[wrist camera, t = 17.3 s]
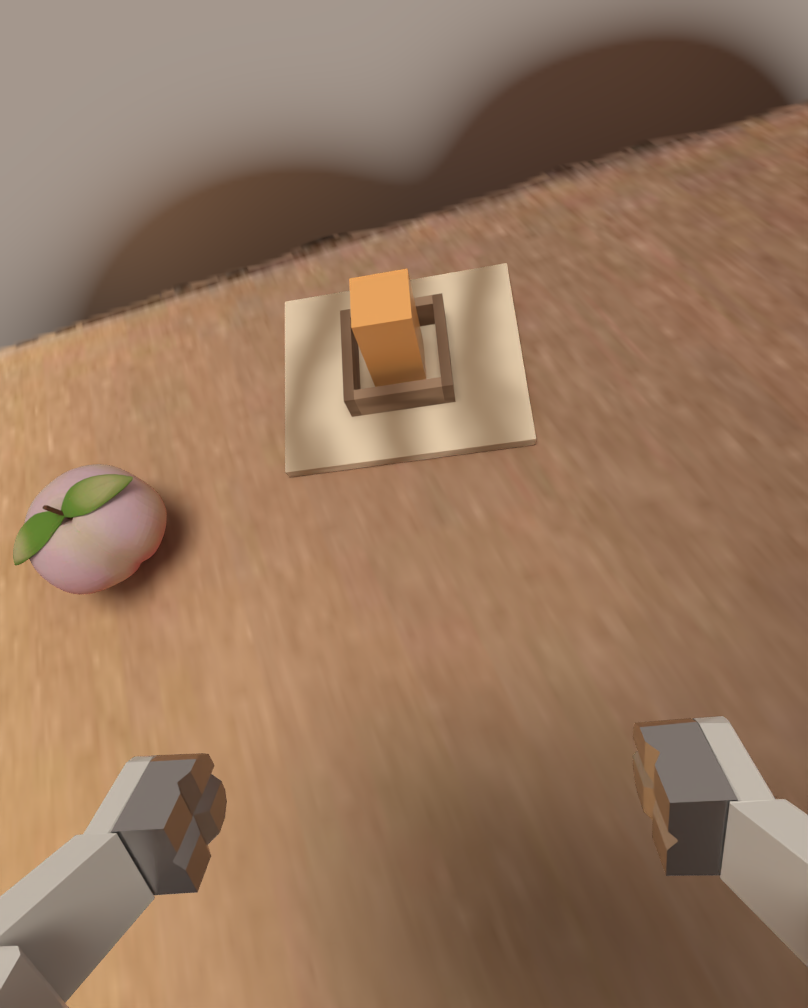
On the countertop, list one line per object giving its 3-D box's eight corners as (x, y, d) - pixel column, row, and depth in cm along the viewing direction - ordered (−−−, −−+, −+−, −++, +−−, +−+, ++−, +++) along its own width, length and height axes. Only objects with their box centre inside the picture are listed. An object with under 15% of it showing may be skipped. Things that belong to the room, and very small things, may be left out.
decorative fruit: (154, 471, 46) (66, 413, 37) (212, 535, 43) (134, 491, 34) (66, 553, 45) (-47, 515, 36) (121, 624, 42) (13, 603, 33)
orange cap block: (422, 339, 45) (407, 268, 37) (427, 383, 44) (411, 318, 36) (374, 347, 45) (349, 278, 38) (376, 390, 44) (351, 328, 37)
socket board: (506, 271, 47) (506, 240, 44) (535, 444, 42) (538, 423, 38) (288, 309, 49) (274, 282, 46) (289, 477, 44) (272, 459, 41)
